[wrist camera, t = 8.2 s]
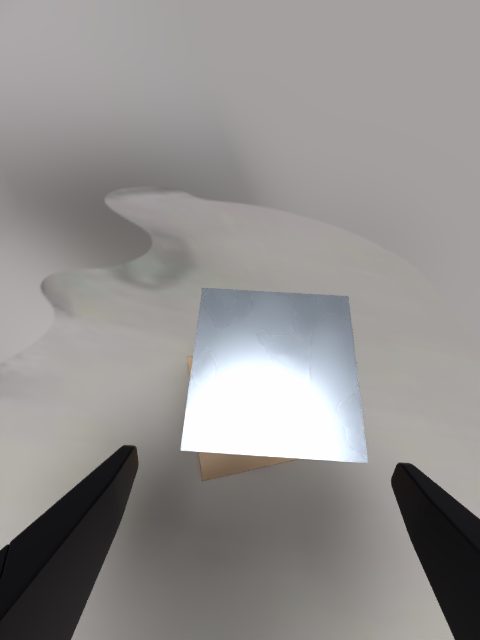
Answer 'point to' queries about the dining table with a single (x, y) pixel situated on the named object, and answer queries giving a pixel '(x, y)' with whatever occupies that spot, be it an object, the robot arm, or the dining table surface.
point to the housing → (274, 377)
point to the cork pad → (232, 459)
